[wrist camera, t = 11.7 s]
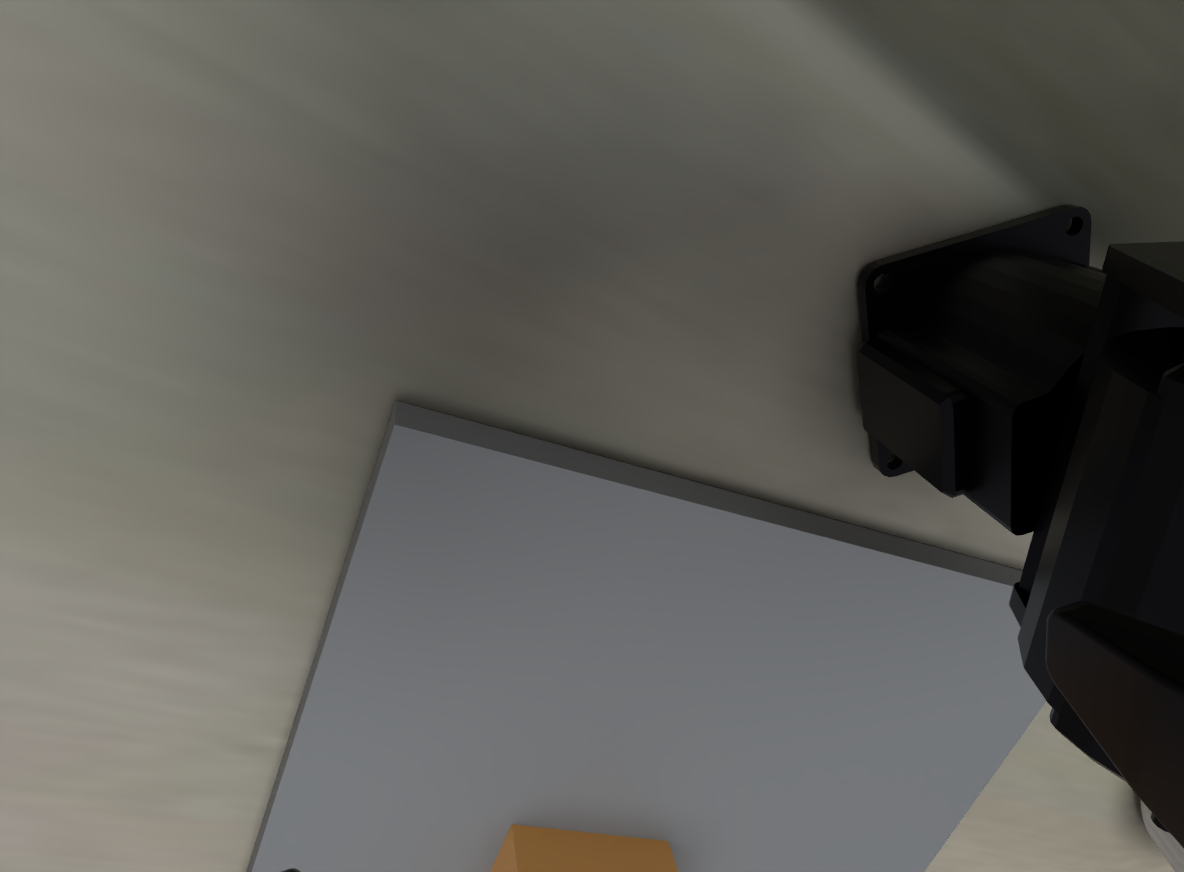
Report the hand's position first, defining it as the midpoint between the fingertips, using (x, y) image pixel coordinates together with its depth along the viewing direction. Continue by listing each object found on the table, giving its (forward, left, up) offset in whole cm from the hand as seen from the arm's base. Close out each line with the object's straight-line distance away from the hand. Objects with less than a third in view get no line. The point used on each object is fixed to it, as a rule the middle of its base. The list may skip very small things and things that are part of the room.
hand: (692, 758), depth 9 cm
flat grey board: (-1, +14, -13) cm, 19 cm away
